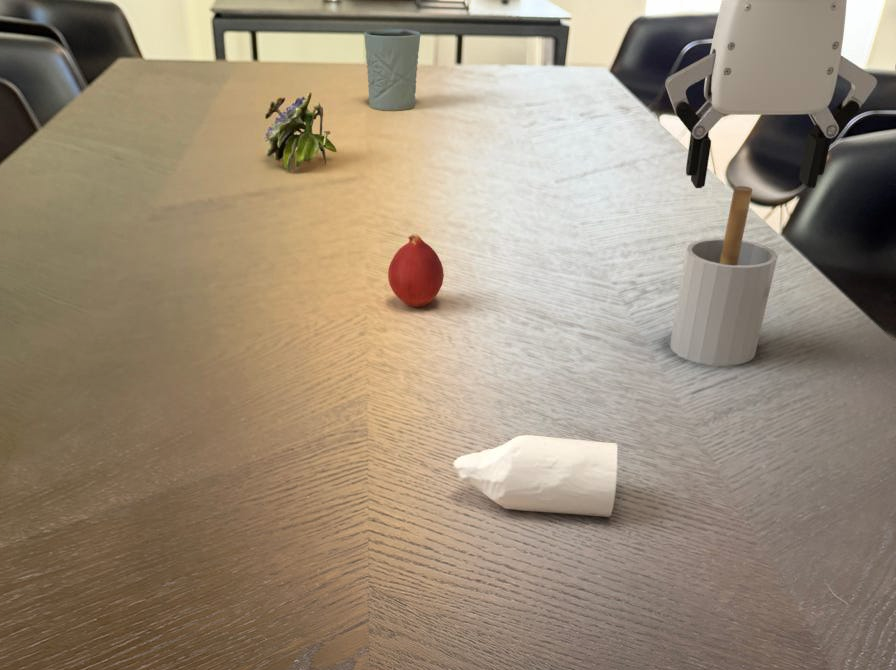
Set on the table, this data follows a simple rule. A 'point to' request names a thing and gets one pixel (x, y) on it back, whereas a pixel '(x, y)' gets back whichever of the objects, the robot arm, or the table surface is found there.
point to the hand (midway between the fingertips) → (751, 184)
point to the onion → (415, 273)
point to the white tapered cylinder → (546, 475)
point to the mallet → (735, 225)
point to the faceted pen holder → (722, 303)
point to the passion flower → (287, 142)
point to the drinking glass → (392, 68)
